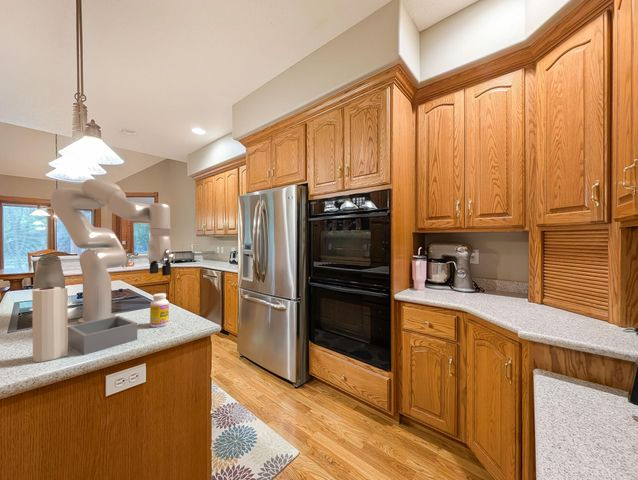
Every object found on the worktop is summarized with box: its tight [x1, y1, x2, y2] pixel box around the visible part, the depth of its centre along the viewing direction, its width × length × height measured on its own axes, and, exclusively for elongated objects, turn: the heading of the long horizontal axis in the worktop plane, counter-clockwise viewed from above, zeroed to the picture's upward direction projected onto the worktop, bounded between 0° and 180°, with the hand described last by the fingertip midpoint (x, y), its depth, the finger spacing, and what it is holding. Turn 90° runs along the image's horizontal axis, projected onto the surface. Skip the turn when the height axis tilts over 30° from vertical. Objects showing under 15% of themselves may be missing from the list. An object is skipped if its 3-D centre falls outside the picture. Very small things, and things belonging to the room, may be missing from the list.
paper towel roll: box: [31, 287, 69, 363], centre depth 81 cm, size 7×6×21 cm
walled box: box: [68, 315, 138, 356], centre depth 94 cm, size 15×15×6 cm
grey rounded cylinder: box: [32, 254, 66, 290], centre depth 120 cm, size 10×10×28 cm
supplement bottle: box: [149, 292, 170, 328], centre depth 112 cm, size 7×7×13 cm
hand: (160, 274), depth 111 cm, fingers open, 9 cm apart
